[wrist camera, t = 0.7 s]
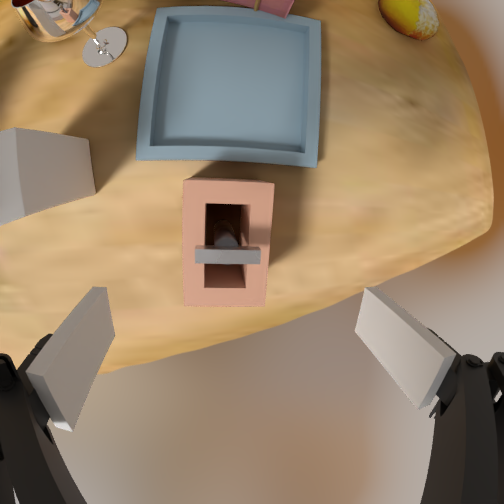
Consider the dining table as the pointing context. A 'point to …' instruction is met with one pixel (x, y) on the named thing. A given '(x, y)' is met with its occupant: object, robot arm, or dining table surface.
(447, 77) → the dining table surface
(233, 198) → the pink window frame
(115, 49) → the wineglass
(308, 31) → the tray
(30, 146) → the milk carton
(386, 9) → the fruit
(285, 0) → the book
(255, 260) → the grey t-shaped piece
